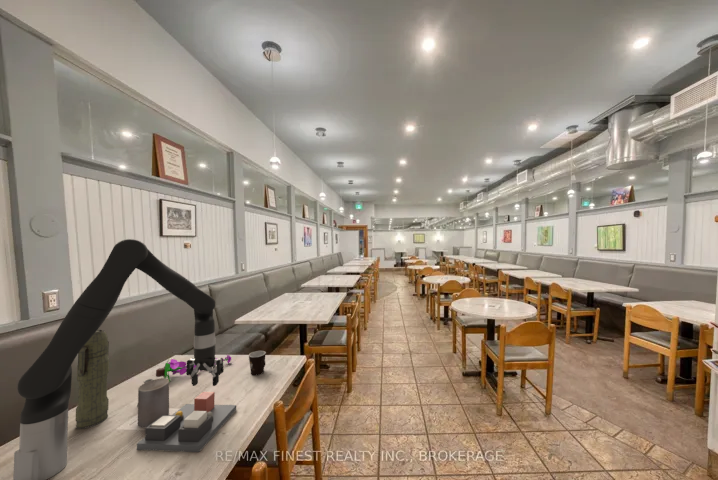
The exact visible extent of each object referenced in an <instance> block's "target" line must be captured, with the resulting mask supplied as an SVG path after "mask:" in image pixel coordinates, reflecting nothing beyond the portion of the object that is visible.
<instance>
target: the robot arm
mask: <svg viewBox="0 0 718 480" xmlns="http://www.w3.org/2000/svg"><path fill="white" fill-rule="evenodd" d="M136 269H137V270H139V271H141V272H143V273H144V274H146V275H147V276H149V277H150V278H151V279H153V280H154V281H155V282H156V283H158V285H160V286H161V287H162V288H164V289H165V290H166V291H167V292H169V293H171V294H172V295H173V296H174V297H176V298H177V299H179V300H181V301H182V302H184V303H186V304H187V305H188V306H189V307H191V308H192V309H193V313H194V314H193V315H194V316H193V317H194V336H193V337H194V338H193V357H191V358H189V359H188V360H187V361H186V365H187V369H186V373H185V374H186V376H190V377H191V385H192V387H195V386H196V385H198V384H199V375H198V373H199V371H200V372H202V371H203V372H204V371H205V372H208V373H209V374H211V376H212V387H215V386H217V385H218V384H219V381H220V380H219V379H220V375H222V374H223V373H224V371H225V370H224V361H223V359H224V357H219V358H217V359H215V358H216V333H215V332H216V331H215V330H216V329H215V319H214V310H215V308H216V301H215V299H214V298H213V297H212V296H211V295H209V294H207V293H206V292H204V291H203V290H201V289H199V287H197V286H196V285H195V283H193V282H191V281H190V280H189V279H188V278H186V277H185V276H183V275H182V274H180V273H179V272H178V271H175V270H174V269H172V268H171V267H169V266H168V265H166V264H165V263H164V262H162V261H161V260H160V259H158V258H157V256H155V255H154V254H153V253H152V252H151V251H150V249H148V247H147V245H146V244H145V243H144V242H142V241H140V240H138V239H134V238H128V239H123V240H121V241H118V242H117V243H115V245H113V248H112V250H111V252H110V253H109V256H108V258H107V259H106V261H105V262H104V264H103V266H102V268H101V270H100V271H99V272H98V274H97V276H95V278H94V279H93V280H92V281H91V282H90V283H89V284H88V286H87V287H86V288H85V289H84V291H82V292H81V294H80V295H79V297H78V298H77V299H76V301H75V302H74V303H73V304H72V306H71V308H70V309H69V310H68V312H67V314H65V316H64V318H63V320H62V321H61V323H60V324H59V326H58V327H57V329H56V331H55V333H54V335H53V337H52V339H51V340H50V342H49V344H48V345H47V346H46V348H45V349H44V350H43V352H41V354H40V355H39V356H38V358H37V359H36V360H35V361H34V362H33V363H32V364H31V366H29V368H28V369H27V370H26V371H25V372H24V374H22V376H21V377H20V379H19V380H18V382H17V387H16V388H17V392H18V394H19V395H20V396H21V397H22V398H24V399H25V402H24V405H23V407H22V410H21V411H20V412H21V413H20V417H19V418H20V420H19V422H20V423H19V424H20V425H19V446H18V447H19V449H17V450H16V451H14V453H13V454H14V455H13V477H12V478H13V479H12V480H48V479H50V478H52V477H54V476H55V475H57V474H58V473H60V472H61V471H62V470H63V469H64V468H65V467H66V466H67V464H68V432H69V431H68V429H69V427H68V426H69V405H70V404H69V402H70V399H71V393H72V392H71V391H72V379H73V378H72V377H73V376H72V375H73V368H72V367H73V366H72V365H73V363H74V361H75V359H76V357H78V353H79V351H80V350H81V349H82V347H83V346H84V345H85V344H86V343H87V341H88V340H89V339H90V338H91V337H92V336H93V335H94V333H95V332H96V331H97V330H99V329H100V327H101V326H102V325H103V323H104V322H105V321H106V319H107V317H108V316H109V315H110V313H111V312H112V310H113V308H114V307H115V305H116V304H117V301H118V299H119V297H120V294H121V292H122V290H123V288H124V286H125V284H126V282H127V280H128V279H129V277H131V275H132V274H133V272H134V271H135V270H136ZM214 363H216V365H215V364H214ZM194 364H195V365H196V367H195V368H194ZM193 369H194V370H193Z"/></svg>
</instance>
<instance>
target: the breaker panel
mask: <svg viewBox="0 0 718 480" xmlns="http://www.w3.org/2000/svg"><path fill="white" fill-rule="evenodd" d="M193 411H194V403H186V404H184V405H182V407H181V408H179V409H178V410H177V411H175V412H174V413H173V414H169V415H162V416H175V419H174V420H173V421H171V422H170V423H169V424H168V425H167V426H165V427H151V425H152V424H153V423H154V422H156V421H157V420H158V419H160V418H161V417H162V416H161V417H159V418H158V419H157V420H155V421H154V422H153V423H151V424H150V425H149V426H148V427H144V428H145V431H144V432H145V433H144V435H145V436H144V437H143V438H142V439H140V441H139V440H138V442H137V443H136V450H139V451H159V450H164V451H163V452H165V451H166V452H167V451H168V452H192V453H200V451H202V449H204V448H205V446H206V445H207V444H208V443H209V441H211V440H212V438H213V437H214V436H215V435H216V434H217V432H219V430H220V429H221V428H222V427H223V426H224V425H225V423H227V421H228V420H229V419H230V418H231V416H233V415H234V414H235V412H236V411H237V404H214V408H213V409H212V410H211V411H210V412H208V413H207V420H206V421H205V422H204V423H203V424H202V425H201V426H200V427H199V428H184V419H185V418H186V417H188V416H189V415H190V414H191V413H192V412H193Z"/></svg>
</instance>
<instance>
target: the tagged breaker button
mask: <svg viewBox="0 0 718 480" xmlns="http://www.w3.org/2000/svg"><path fill="white" fill-rule="evenodd" d="M174 419H175V416H162V417H161V418H160V419H158V420H157V421H156V422H154V423H153V424H152V425H151V427H165V426H167V425H168V424H169V423H170V422H171V421H173V420H174Z"/></svg>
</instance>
